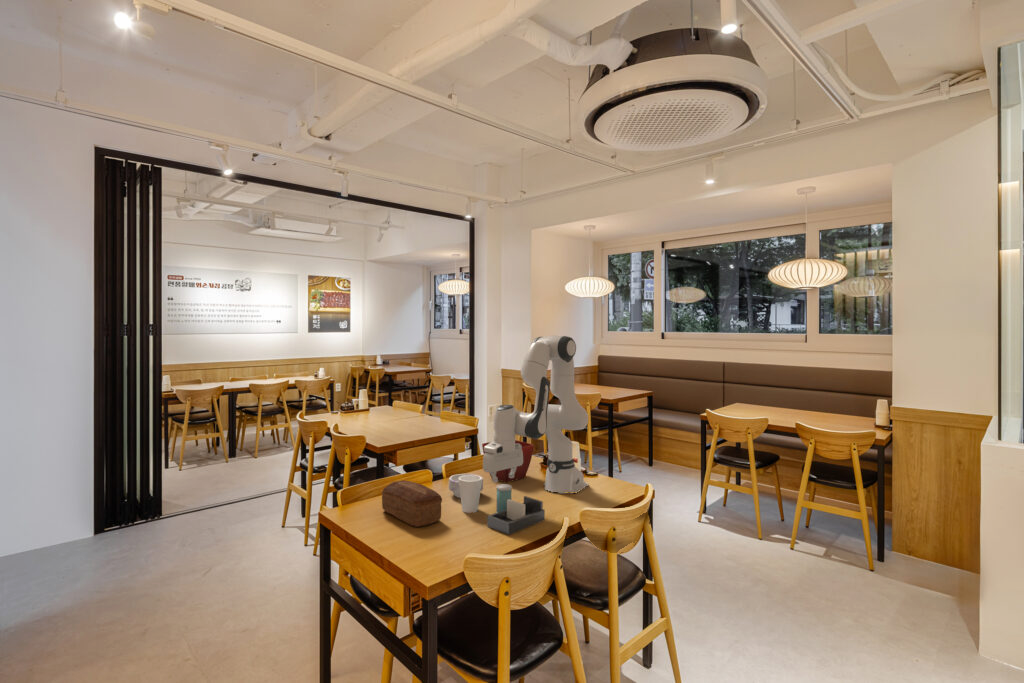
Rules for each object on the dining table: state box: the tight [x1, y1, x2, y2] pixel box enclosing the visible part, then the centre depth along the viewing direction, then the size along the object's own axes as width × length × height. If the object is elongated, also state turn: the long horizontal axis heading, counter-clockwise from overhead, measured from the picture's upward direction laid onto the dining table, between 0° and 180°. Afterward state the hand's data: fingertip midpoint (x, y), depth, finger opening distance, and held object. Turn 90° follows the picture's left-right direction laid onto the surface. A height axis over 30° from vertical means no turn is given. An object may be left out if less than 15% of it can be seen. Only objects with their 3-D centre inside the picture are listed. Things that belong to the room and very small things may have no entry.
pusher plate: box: [507, 499, 525, 520], centre depth 184 cm, size 1×8×7 cm, turn 46°
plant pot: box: [481, 439, 535, 483], centre depth 245 cm, size 19×19×17 cm
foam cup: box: [459, 474, 483, 514], centre depth 198 cm, size 10×9×13 cm
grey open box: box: [486, 495, 546, 536], centre depth 185 cm, size 20×11×7 cm, turn 137°
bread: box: [381, 479, 443, 528], centre depth 191 cm, size 14×28×12 cm, turn 44°
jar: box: [495, 483, 513, 513], centre depth 198 cm, size 6×6×10 cm
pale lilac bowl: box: [448, 473, 484, 499], centre depth 216 cm, size 15×15×8 cm
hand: (503, 479), depth 197 cm, fingers open, 8 cm apart
